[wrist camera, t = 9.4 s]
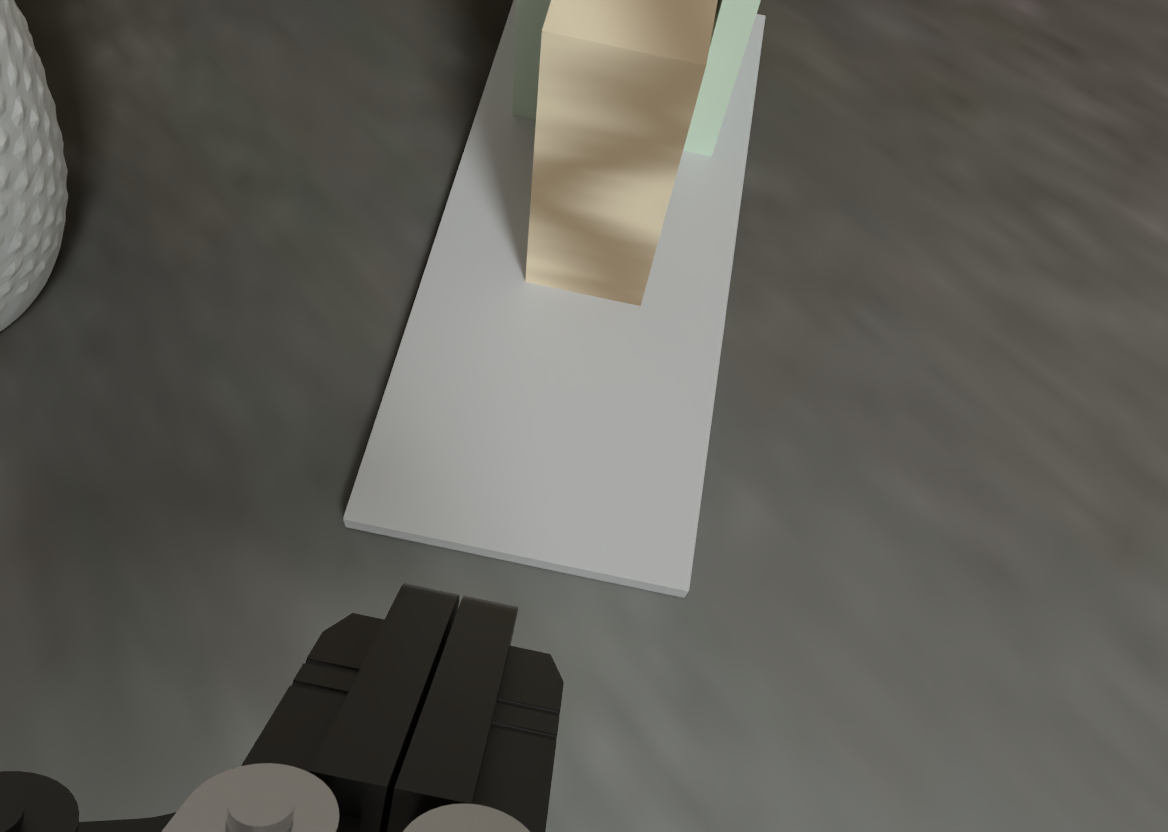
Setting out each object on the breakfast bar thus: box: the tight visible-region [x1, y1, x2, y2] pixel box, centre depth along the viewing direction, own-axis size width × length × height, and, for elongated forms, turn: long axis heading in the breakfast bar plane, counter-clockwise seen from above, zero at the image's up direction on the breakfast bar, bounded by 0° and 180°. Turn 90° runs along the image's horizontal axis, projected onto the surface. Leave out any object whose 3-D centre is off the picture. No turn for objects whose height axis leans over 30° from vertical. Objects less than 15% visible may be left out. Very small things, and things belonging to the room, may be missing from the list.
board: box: [343, 0, 765, 598], centre depth 28 cm, size 9×22×1 cm, turn 170°
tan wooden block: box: [525, 0, 718, 306], centre depth 26 cm, size 4×12×9 cm, turn 169°
